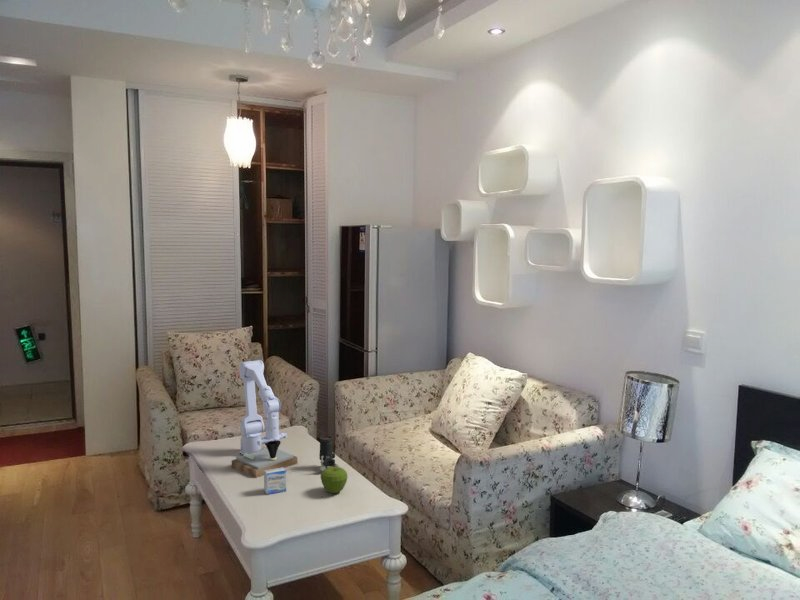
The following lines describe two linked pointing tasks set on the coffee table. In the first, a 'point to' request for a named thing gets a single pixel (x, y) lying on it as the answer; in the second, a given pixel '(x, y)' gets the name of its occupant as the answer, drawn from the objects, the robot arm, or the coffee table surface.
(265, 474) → the medicine box
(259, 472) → the walnut base
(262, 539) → the coffee table surface
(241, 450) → the robot arm
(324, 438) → the scope
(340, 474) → the apple
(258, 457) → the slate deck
